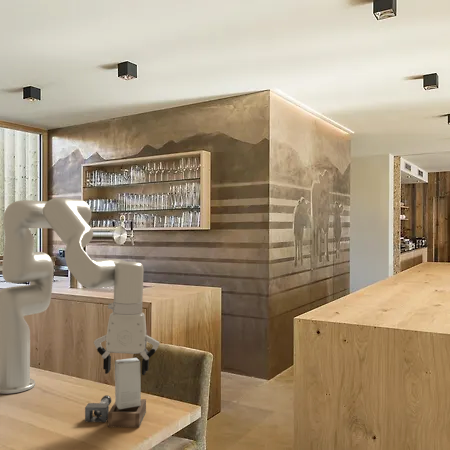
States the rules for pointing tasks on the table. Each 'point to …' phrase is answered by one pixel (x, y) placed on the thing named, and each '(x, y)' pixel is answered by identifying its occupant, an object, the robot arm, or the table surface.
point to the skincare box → (127, 383)
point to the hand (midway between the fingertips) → (125, 372)
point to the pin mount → (96, 407)
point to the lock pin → (104, 400)
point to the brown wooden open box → (127, 416)
